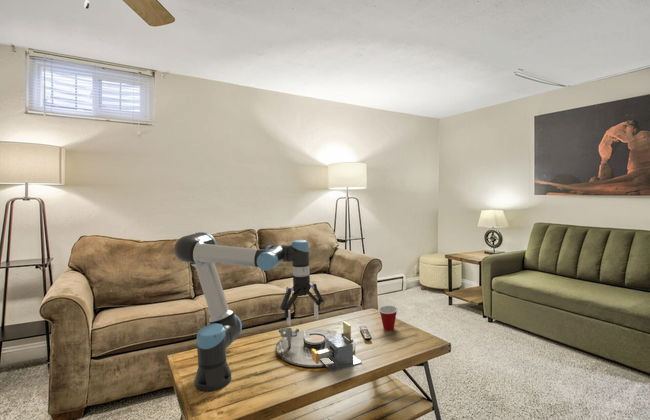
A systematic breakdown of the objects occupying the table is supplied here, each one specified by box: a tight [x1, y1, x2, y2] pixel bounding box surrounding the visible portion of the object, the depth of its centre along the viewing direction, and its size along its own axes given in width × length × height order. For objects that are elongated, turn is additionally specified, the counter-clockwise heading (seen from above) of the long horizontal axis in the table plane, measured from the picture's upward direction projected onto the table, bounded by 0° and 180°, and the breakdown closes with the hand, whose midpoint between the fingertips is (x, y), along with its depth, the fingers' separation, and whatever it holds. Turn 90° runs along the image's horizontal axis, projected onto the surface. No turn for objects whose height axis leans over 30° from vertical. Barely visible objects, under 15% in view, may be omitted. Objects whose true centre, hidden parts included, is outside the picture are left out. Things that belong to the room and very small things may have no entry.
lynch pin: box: [311, 347, 334, 365], centre depth 159 cm, size 14×5×5 cm, turn 116°
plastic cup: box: [378, 305, 398, 332], centre depth 197 cm, size 11×11×12 cm
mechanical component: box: [278, 327, 300, 348], centre depth 177 cm, size 3×10×10 cm, turn 89°
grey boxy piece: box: [325, 332, 363, 373], centre depth 162 cm, size 16×14×11 cm
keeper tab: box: [342, 320, 352, 340], centre depth 163 cm, size 7×6×1 cm
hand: (302, 321), depth 154 cm, fingers open, 13 cm apart
